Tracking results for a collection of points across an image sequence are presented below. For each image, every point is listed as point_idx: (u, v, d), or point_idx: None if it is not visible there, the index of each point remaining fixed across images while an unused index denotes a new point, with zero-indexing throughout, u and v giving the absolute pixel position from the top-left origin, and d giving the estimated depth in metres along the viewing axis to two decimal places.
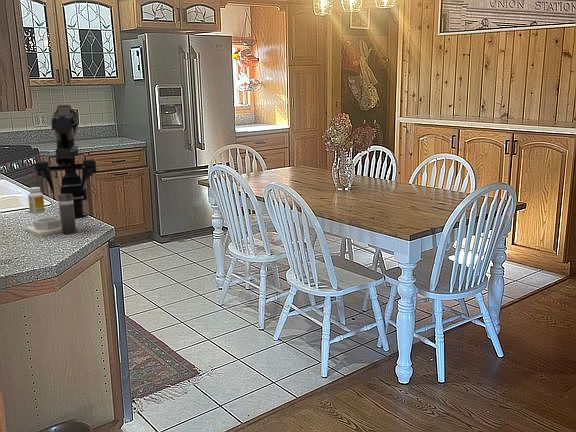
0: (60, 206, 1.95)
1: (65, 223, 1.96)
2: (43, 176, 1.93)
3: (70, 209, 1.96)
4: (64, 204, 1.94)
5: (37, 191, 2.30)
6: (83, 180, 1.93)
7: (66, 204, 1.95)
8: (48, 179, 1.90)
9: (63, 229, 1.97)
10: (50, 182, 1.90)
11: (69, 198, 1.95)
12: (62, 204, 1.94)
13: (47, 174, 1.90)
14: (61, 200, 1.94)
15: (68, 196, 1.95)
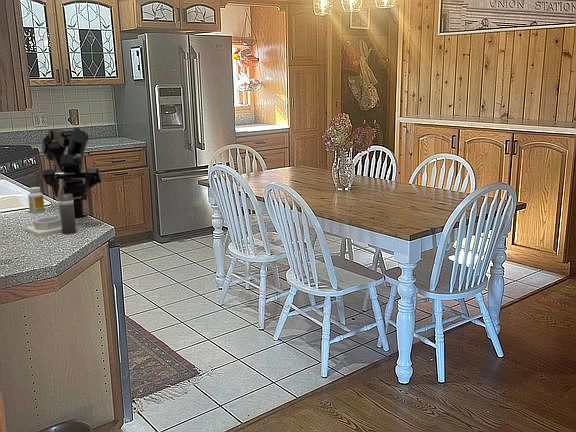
0: (60, 206, 1.95)
1: (65, 223, 1.96)
2: (50, 184, 2.05)
3: (70, 209, 1.96)
4: (64, 204, 1.94)
5: (37, 191, 2.30)
6: (85, 186, 2.02)
7: (66, 204, 1.95)
8: (53, 185, 2.02)
9: (63, 229, 1.97)
10: (55, 187, 2.01)
11: (69, 198, 1.95)
12: (62, 204, 1.94)
13: (53, 180, 2.02)
14: (61, 200, 1.94)
15: (68, 196, 1.95)
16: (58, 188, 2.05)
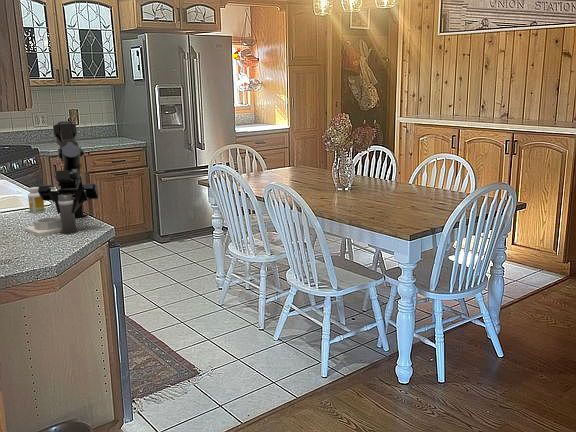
0: (60, 206, 1.95)
1: (65, 223, 1.96)
2: (53, 200, 2.00)
3: (70, 209, 1.96)
4: (64, 204, 1.94)
5: (37, 191, 2.30)
6: (75, 202, 1.97)
7: (66, 204, 1.95)
8: (55, 201, 1.97)
9: (63, 229, 1.97)
10: (57, 203, 1.96)
11: (69, 198, 1.95)
12: (62, 204, 1.94)
13: (55, 196, 1.97)
14: (61, 200, 1.94)
15: (68, 196, 1.95)
16: None
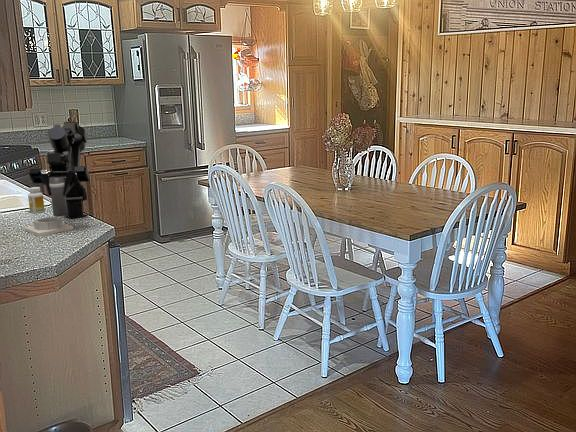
0: (51, 188, 1.96)
1: (56, 206, 1.96)
2: (44, 183, 2.01)
3: (61, 191, 1.96)
4: (55, 186, 1.95)
5: (37, 191, 2.30)
6: (66, 185, 1.97)
7: (57, 186, 1.95)
8: (46, 183, 1.97)
9: (54, 212, 1.97)
10: (48, 186, 1.97)
11: (60, 180, 1.95)
12: (53, 186, 1.95)
13: (46, 178, 1.97)
14: (52, 182, 1.95)
15: (59, 178, 1.95)
16: None
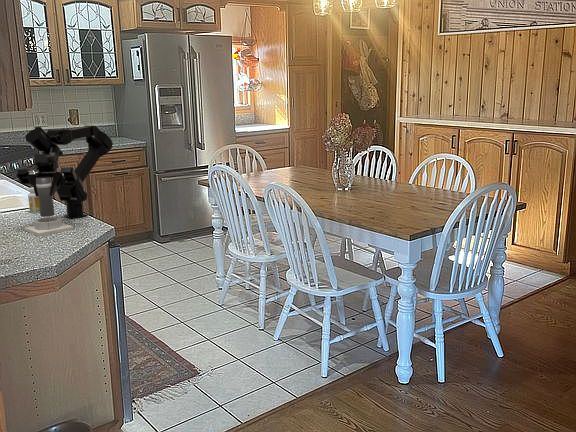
0: (38, 189, 1.98)
1: (43, 206, 1.99)
2: (31, 183, 2.03)
3: (47, 192, 1.99)
4: (42, 187, 1.97)
5: None
6: (53, 186, 2.00)
7: (44, 187, 1.98)
8: (33, 184, 2.00)
9: (41, 212, 2.00)
10: (35, 186, 1.99)
11: (47, 181, 1.98)
12: (40, 186, 1.97)
13: (33, 179, 2.00)
14: (39, 183, 1.97)
15: (45, 179, 1.98)
16: None
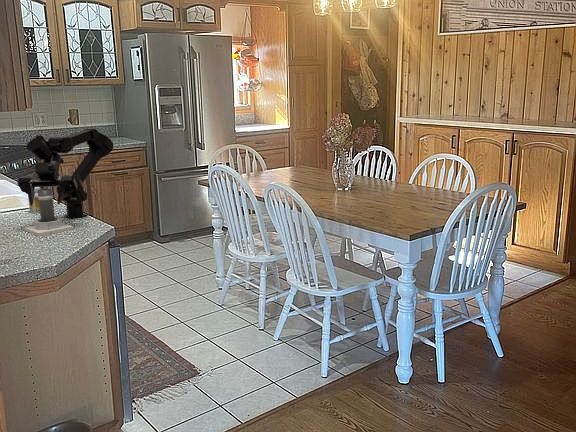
0: (39, 201, 1.99)
1: (44, 218, 2.00)
2: (26, 192, 2.04)
3: (49, 204, 2.00)
4: (43, 199, 1.98)
5: (37, 191, 2.30)
6: (60, 194, 2.01)
7: (45, 199, 1.99)
8: (28, 192, 2.00)
9: None
10: (30, 195, 2.00)
11: (48, 193, 1.99)
12: (42, 199, 1.98)
13: (28, 188, 2.00)
14: (40, 195, 1.98)
15: (47, 191, 1.99)
16: None
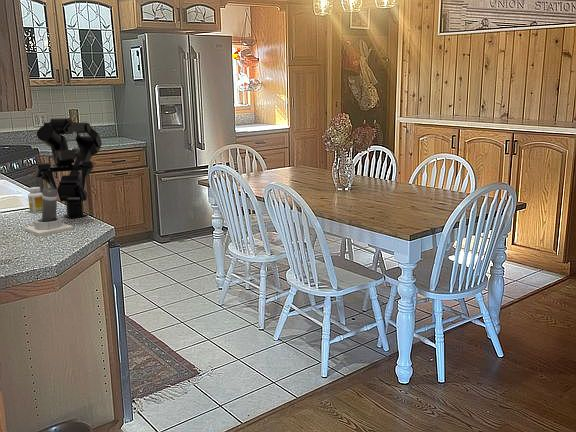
0: (43, 200, 1.98)
1: (46, 217, 2.00)
2: (42, 177, 2.03)
3: (52, 204, 1.99)
4: (48, 199, 1.98)
5: (37, 191, 2.30)
6: (83, 180, 2.08)
7: (50, 200, 1.98)
8: (51, 179, 2.02)
9: None
10: (53, 182, 2.02)
11: (53, 194, 1.98)
12: (46, 199, 1.98)
13: (50, 175, 2.01)
14: (45, 195, 1.97)
15: (53, 192, 1.98)
16: None
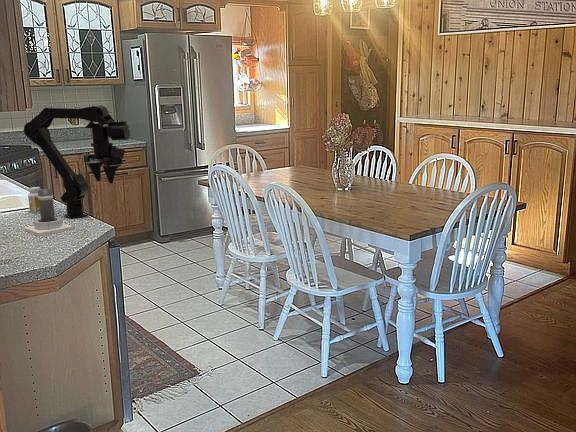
0: (39, 201, 1.99)
1: (44, 218, 2.00)
2: (109, 167, 2.11)
3: (49, 204, 2.00)
4: (43, 199, 1.98)
5: (37, 191, 2.30)
6: None
7: (45, 199, 1.99)
8: None
9: None
10: None
11: (48, 193, 1.99)
12: (42, 198, 1.98)
13: None
14: (40, 195, 1.98)
15: (47, 191, 1.99)
16: None
